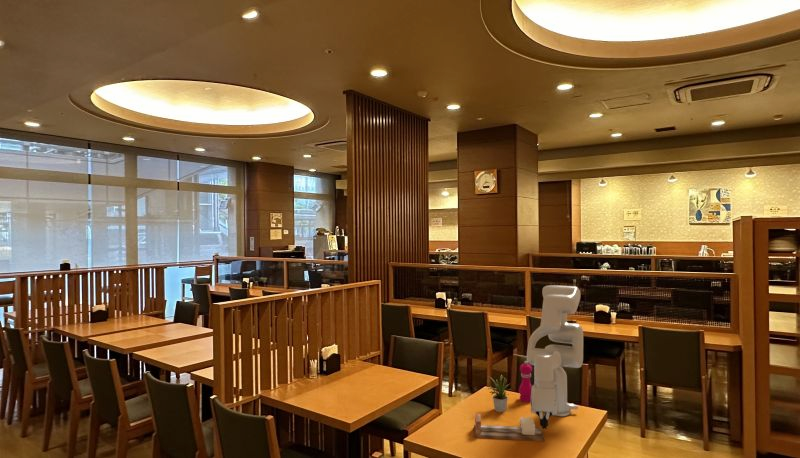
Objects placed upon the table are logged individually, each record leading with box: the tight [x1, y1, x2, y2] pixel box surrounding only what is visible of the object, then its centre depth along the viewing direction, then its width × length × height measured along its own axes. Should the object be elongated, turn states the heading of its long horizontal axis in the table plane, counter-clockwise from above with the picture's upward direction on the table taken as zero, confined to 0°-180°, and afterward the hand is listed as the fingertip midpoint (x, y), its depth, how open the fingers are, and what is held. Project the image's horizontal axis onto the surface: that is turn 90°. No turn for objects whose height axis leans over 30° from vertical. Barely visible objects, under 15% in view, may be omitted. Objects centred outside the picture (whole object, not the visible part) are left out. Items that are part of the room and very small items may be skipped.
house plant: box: [487, 374, 511, 413], centre depth 220 cm, size 14×14×16 cm
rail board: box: [473, 413, 545, 442], centre depth 192 cm, size 28×10×6 cm, turn 83°
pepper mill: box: [518, 360, 533, 403], centre depth 232 cm, size 7×7×20 cm
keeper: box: [519, 416, 536, 435], centre depth 191 cm, size 5×7×4 cm
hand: (543, 427), depth 190 cm, fingers closed
